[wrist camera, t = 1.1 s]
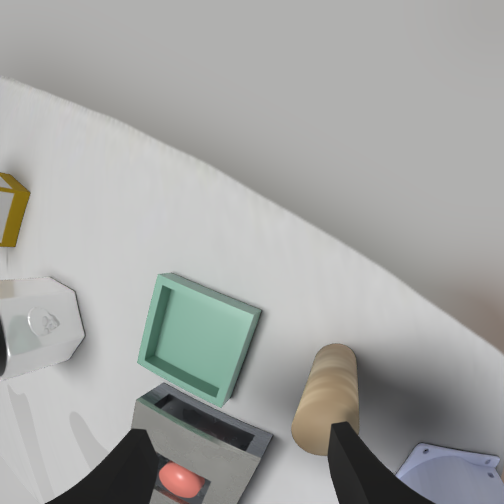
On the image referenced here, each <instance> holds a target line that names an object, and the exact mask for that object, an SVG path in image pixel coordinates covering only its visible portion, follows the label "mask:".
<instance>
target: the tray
mask: <svg viewBox="0 0 504 504" xmlns="http://www.w3.org/2000/svg"><path fill="white" fill-rule="evenodd" d="M260 313H261V310H260V309H258V308H255V307H253V306H250V305H248V304H245V303H243V302H240V301H238V300H235V299H233V298H230V297H228V296H225V295H223V294H220V293H218V292H216V291H213V290H211V289H208V288H206V287H204V286H201V285H199V284H196V283H194V282H192V281H189V280H187V279H185V278H182V277H180V276H178V275H175V274H173V273H165V274H158V276H157V280H156V284H155V288H154V292H153V295H152V299H151V304H150V308H149V312H148V316H147V320H146V324H145V329H144V333H143V338H142V342H141V347H140V351H139V356H138V361H137V363H138V364H140V365H141V366H143V367H145V368H146V369H148V370H150V371H152V372H153V373H155V374H157V375H159V376H160V377H162V378H164V379H166V380H168V381H169V382H171V383H173V384H175V385H177V386H179V387H180V388H182V389H184V390H186V391H188V392H190V393H192V394H194V395H196V396H198V397H200V398H202V399H204V400H206V401H208V402H210V403H212V404H214V405H216V406H218V407H220V408H222V406H223V405H224V404H225V403H226V402H227V401H228V400H229V399H230V397H231V394H232V392H233V389H234V386H235V384H236V381H237V378H238V375H239V372H240V370H241V367H242V364H243V361H244V359H245V356H246V353H247V350H248V347H249V345H250V342H251V339H252V336H253V333H254V330H255V327H256V325H257V322H258V319H259V316H260Z"/></svg>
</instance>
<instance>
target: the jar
mask: <svg viewBox="0 0 504 504" xmlns="http://www.w3.org/2000/svg"><path fill="white" fill-rule="evenodd" d="M84 337H85V334H84V330H83V326H82V322H81V318H80V314H79V309H78V305H77V300H76V296H75V292H74V291H73V290H71V289H70V288H68V287H66V286H64V285H62V284H61V283H59V282H57V281H56V280H54V279H52V278H50V277H42V278H28V279H13V280H0V380H1V381H4V380H7V379H10V378H13V377H17V376H20V375H23V374H26V373H29V372H32V371H36V370H39V369H42V368H45V367H48V366H51V365H54V364H57V363H60V362H63V361H66V360H69V359H70V357H71V356H72V354H73V353H74V351H75V350H76V348H77V347H78V345H79V344H80V342H81V341H82V340H83V338H84Z"/></svg>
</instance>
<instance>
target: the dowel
mask: <svg viewBox="0 0 504 504" xmlns="http://www.w3.org/2000/svg"><path fill="white" fill-rule="evenodd" d="M345 421H347V422H349V424H350V425H351V426H352V428H353V429H354V431H355V432H356V433H357V435H358V434H359V399H358V379H357V363H356V357H355V355H354V353H353V351H352V350H351V349H350V348H348V347H347V346H345V345H342V344H330V345H327V346H325V347H323V348H322V349H321V350H320V351H319V352H318V353H317V354H316V356H315V359H314V362H313V365H312V368H311V371H310V374H309V377H308V380H307V383H306V386H305V389H304V392H303V395H302V398H301V400H300V403H299V406H298V409H297V411H296V414H295V417H294V420H293V422H292V428H291V430H292V436H293V438H294V440H295V442H296V443H297V444H298V446H299V447H301V448H302V449H303V450H305V451H307V452H309V453H311V454H314V455H320V456H327V453H328V446H329V438H330V430H331V424H333V423H339V422H345Z"/></svg>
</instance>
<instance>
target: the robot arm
mask: <svg viewBox="0 0 504 504" xmlns="http://www.w3.org/2000/svg"><path fill="white" fill-rule="evenodd" d="M425 449H428V450H427V451H424V450H425ZM327 456H328V462H329V468H330V474H331V478H332V481H333V485H334V488H335V491H336V495H337V498H338V501H339V504H504V484H503V482H502V480H501V478H500V476H499V475H498V473H497V471H496V469H495V467H496V466H497V465H498V463H499V461H500V458H499V457H498V456H492V455H484V454H478V453H471V452H465V451H459V450H454V449H448V448H443V447H438V446H433V445H429V444H424V443H421V444H418V445H417V446H416V447H415V448H414V450H413V451H412V453H411V454H410V455H409V457H408V458H407V460H406V461H405V463H404V464H403V465H402V467H401V468H400V470H399V471H398V472H397V474H396V475H394V474H393V473H392V472H391V471H390V470H389V469H387V468H386V467H385V466H384V465H383V464H382V463H381V462H380V461H379V459H378V458H377V457H376V456H375V455H374V454H373V453H372V452H371V451H370V450H369V448H368V447H367V446H366V445H365V444H364V442H363V441H362V440H361V439H360V437H359V436H358V435H357V433H356V432H355V431H354V429H353V428H352V426H351V425H350V424H349V422H347V421H345V422H339V423H333V424H331V430H330V438H329V446H328V453H327ZM487 460H488V461H487ZM158 464H159V458H158V456H157V454H156V452H155V449H154V447H153V445H152V442H151V440H150V438H149V435H148V433H147V430H146V429H135V428H132V429H131V430H130V431H129V432H128V433H127V435H126V436H125V437H124V438H123V439H122V440H121V441H120V443H119V444H118V445H117V446H116V447H115V448H114V449H113V450H112V451H111V452H110V454H109V455H108V456H107V457H106V458H105V459H104V460H103V461H102V462H101V463H100V464H99V465H98V466H97V467H96V468H95V469H94V470H93V471H91V472H90V473H89V474H88V475H87V476H86V477H85V478H84V479H82V480H81V481H80V482H79V483H77V484H76V485H75V486H73V487H72V488H71V489H69V490H68V491H66V492H65V493H63V494H61V495H60V496H58V497H56V498H55V499H53V500H51V501H49V502H47V503H45V504H149V503H150V500H151V496H152V493H153V490H154V486H155V482H156V478H157V471H158Z"/></svg>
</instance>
